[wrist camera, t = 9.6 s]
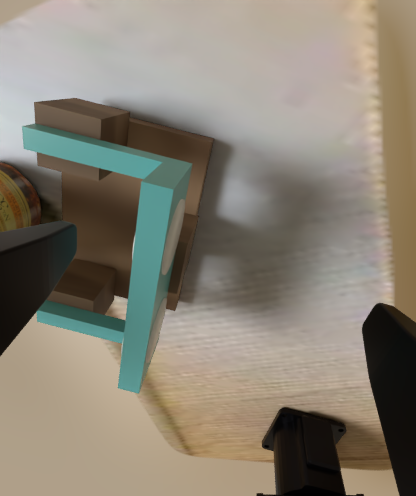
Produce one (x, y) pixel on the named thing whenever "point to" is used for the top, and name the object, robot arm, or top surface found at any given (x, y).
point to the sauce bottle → (17, 200)
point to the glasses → (144, 247)
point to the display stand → (115, 200)
